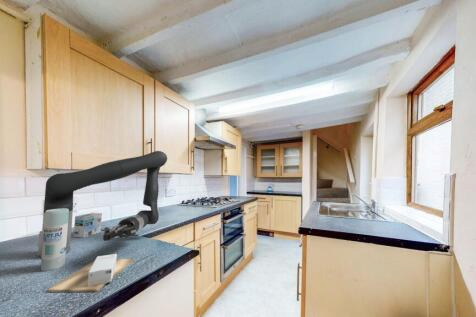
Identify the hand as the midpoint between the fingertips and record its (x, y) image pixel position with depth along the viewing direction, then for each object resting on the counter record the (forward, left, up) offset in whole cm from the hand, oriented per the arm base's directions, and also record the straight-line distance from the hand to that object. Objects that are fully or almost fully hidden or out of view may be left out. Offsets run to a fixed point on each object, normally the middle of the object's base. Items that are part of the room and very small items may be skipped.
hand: (105, 237), depth 70 cm
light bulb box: (-35, +40, -11) cm, 54 cm away
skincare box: (+1, 0, -8) cm, 8 cm away
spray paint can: (-19, +2, -11) cm, 22 cm away
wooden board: (0, -4, -11) cm, 11 cm away
